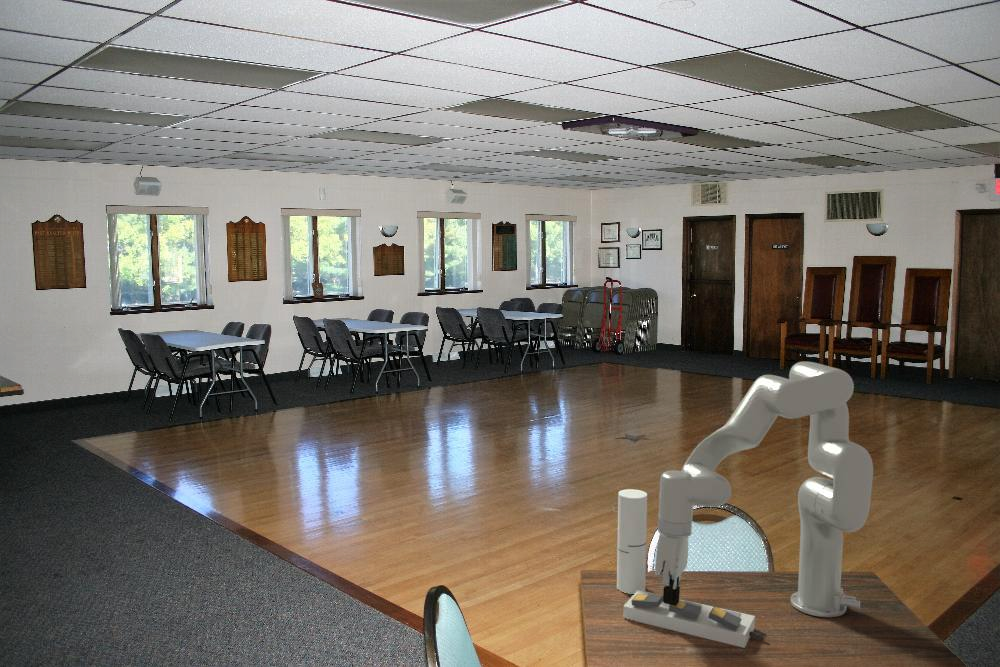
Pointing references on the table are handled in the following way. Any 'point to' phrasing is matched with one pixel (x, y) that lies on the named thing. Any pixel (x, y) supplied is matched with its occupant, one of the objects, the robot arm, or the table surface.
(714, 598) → the table surface
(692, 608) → the middle rocker
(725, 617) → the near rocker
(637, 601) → the far rocker
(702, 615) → the power strip
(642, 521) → the cylindrical container
